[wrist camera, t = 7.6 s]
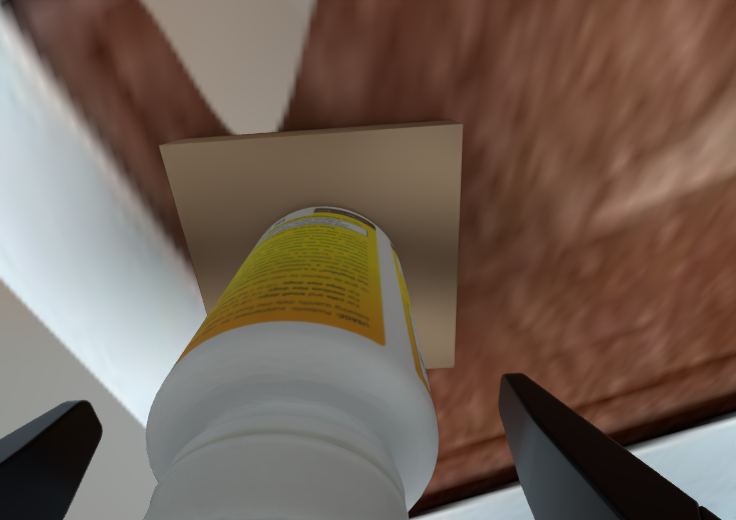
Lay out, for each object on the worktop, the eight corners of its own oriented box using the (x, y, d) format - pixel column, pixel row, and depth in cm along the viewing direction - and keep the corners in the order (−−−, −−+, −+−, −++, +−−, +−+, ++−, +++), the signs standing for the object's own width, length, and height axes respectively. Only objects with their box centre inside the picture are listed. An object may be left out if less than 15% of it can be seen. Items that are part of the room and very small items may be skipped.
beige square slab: (444, 339, 18) (454, 367, 16) (239, 352, 18) (226, 381, 16) (449, 119, 14) (462, 123, 12) (184, 138, 14) (158, 145, 12)
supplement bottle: (223, 260, 14) (-54, 595, 5) (339, 169, 13) (277, 385, 3) (319, 355, 16) (258, 730, 7) (429, 285, 15) (548, 628, 5)
